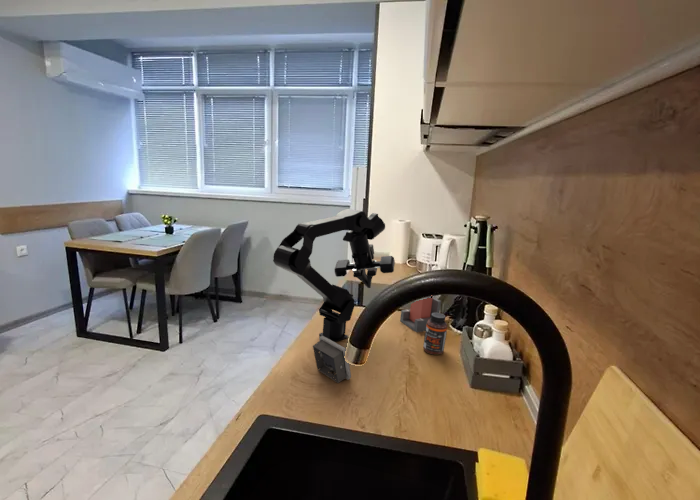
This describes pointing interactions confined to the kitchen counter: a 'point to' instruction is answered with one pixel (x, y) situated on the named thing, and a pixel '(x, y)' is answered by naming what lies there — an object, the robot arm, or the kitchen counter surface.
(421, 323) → the housing
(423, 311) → the pink block with dome
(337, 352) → the electrical switch
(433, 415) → the kitchen counter surface
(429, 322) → the supplement bottle
